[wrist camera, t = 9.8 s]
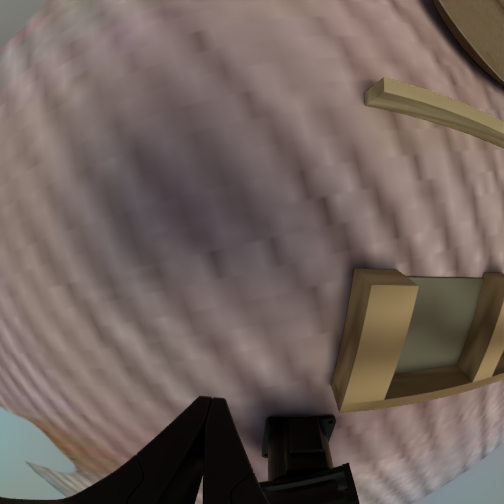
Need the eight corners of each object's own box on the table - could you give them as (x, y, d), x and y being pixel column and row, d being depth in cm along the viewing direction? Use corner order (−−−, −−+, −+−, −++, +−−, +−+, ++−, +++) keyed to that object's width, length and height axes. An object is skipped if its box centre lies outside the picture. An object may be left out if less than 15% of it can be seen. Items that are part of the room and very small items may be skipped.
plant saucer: (504, -3, 11) (516, -10, 8) (544, 119, 15) (562, 118, 12) (390, -55, 12) (399, -70, 9) (440, 79, 16) (460, 69, 13)
